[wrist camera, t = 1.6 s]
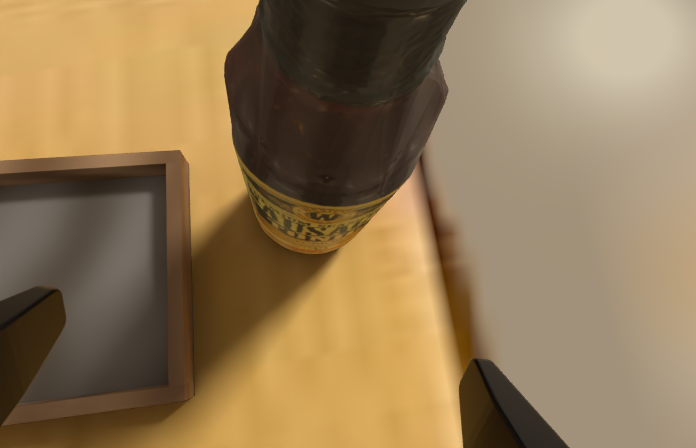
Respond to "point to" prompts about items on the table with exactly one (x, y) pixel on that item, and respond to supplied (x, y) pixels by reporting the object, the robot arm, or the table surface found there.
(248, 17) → the table surface
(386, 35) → the sauce bottle
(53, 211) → the walnut frame
